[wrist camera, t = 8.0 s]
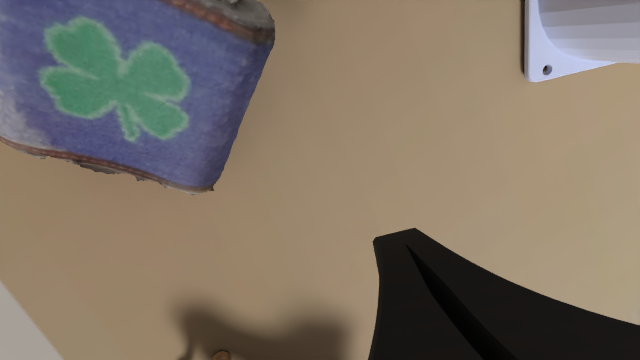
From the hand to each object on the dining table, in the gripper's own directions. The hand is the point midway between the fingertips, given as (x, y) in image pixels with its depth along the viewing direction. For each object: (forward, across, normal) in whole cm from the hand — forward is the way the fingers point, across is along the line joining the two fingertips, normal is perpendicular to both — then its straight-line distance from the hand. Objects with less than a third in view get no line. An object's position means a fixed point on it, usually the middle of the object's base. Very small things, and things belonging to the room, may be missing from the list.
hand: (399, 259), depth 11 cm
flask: (+8, +11, -3) cm, 14 cm away
